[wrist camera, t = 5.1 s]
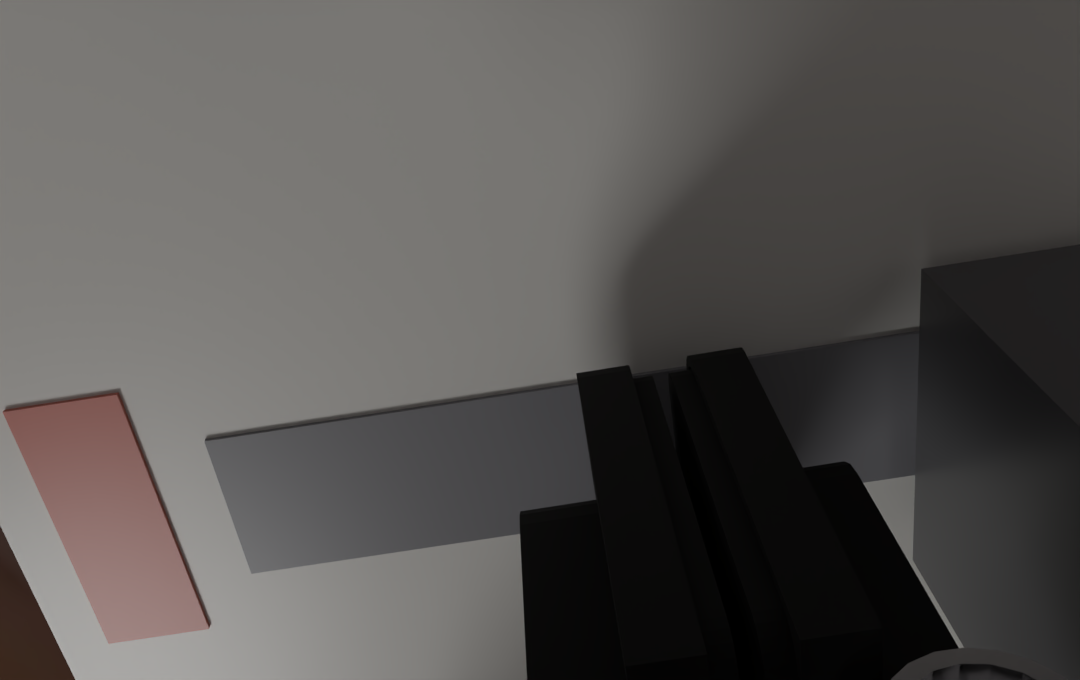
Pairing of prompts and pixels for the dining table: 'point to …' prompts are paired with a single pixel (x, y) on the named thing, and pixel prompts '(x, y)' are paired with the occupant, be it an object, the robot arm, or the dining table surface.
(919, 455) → the block
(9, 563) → the dining table surface
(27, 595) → the dining table surface
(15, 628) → the dining table surface
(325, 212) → the breaker panel
